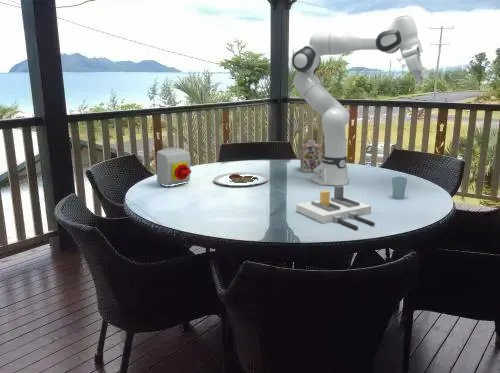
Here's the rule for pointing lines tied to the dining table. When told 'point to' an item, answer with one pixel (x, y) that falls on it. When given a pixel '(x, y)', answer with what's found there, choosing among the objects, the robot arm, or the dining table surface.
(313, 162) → the decorative jar
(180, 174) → the electrical switch box
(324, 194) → the amber toggle
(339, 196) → the charcoal toggle
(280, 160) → the dining table surface
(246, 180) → the plated food
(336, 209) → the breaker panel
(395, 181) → the cup
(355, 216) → the power cords
